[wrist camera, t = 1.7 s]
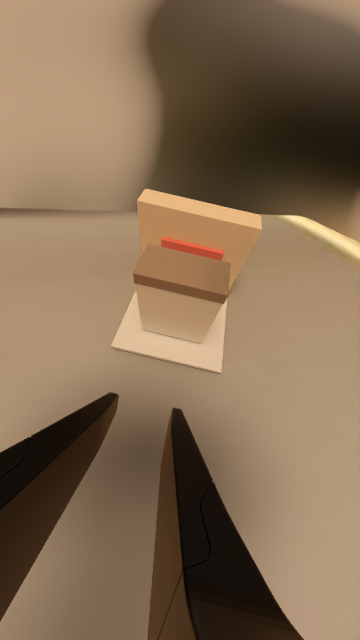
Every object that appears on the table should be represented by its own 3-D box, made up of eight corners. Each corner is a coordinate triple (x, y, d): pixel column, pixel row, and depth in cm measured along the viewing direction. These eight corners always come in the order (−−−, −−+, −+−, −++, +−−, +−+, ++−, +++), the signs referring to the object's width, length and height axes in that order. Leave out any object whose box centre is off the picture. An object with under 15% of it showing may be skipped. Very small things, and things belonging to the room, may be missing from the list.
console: (219, 373, 22) (269, 331, 13) (112, 347, 22) (77, 286, 13) (227, 282, 31) (260, 214, 21) (148, 264, 31) (145, 188, 21)
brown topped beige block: (201, 344, 23) (228, 295, 15) (141, 329, 23) (132, 273, 15) (205, 318, 25) (230, 262, 17) (150, 305, 25) (147, 243, 17)
